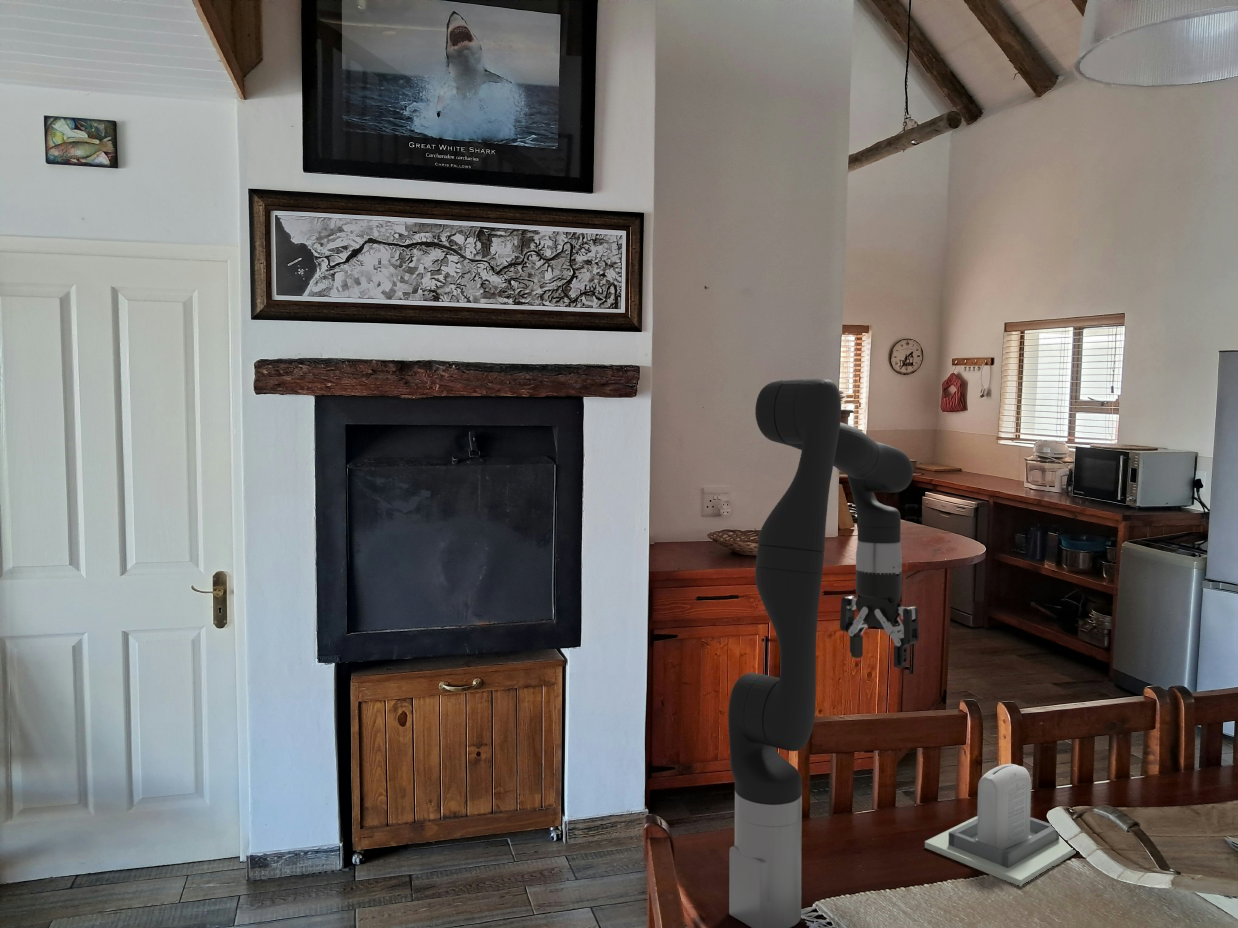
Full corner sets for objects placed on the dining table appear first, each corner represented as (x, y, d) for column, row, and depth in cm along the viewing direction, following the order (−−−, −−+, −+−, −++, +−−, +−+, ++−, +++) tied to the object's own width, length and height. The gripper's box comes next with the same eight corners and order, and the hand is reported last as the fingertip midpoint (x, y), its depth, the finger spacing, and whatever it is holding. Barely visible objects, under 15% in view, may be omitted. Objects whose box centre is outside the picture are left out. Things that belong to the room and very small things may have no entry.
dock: (1020, 886, 132) (1020, 866, 131) (924, 847, 144) (924, 829, 144) (1083, 847, 144) (1083, 829, 144) (990, 814, 156) (990, 798, 156)
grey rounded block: (1009, 829, 149) (1010, 755, 148) (1034, 838, 145) (1035, 763, 145) (972, 845, 143) (973, 768, 142) (997, 855, 139) (998, 777, 139)
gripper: (830, 565, 155) (830, 657, 155) (901, 574, 143) (900, 674, 144) (857, 561, 159) (857, 651, 160) (928, 570, 148) (927, 667, 148)
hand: (877, 662), depth 152 cm, fingers open, 8 cm apart
